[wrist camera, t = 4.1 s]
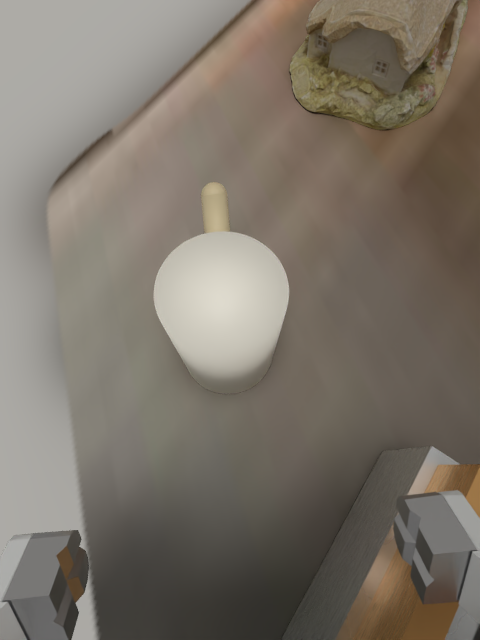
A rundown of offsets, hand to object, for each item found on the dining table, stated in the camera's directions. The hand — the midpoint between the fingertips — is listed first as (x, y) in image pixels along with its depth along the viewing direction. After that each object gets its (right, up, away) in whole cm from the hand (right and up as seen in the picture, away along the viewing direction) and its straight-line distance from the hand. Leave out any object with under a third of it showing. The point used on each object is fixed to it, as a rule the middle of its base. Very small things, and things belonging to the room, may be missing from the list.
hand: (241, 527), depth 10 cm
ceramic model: (+10, +25, +21) cm, 34 cm away
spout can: (-1, +5, +14) cm, 15 cm away
